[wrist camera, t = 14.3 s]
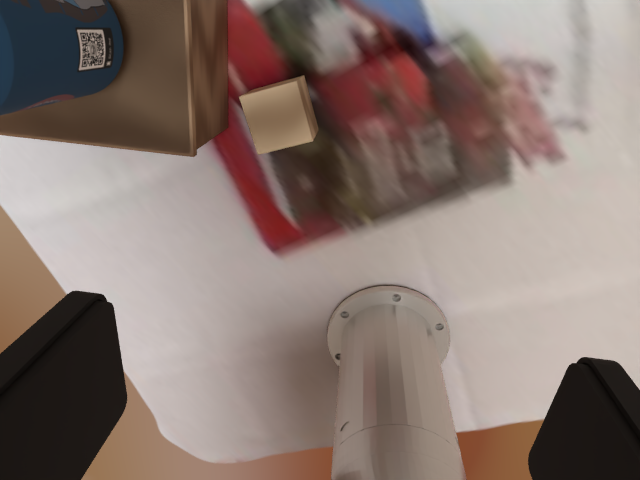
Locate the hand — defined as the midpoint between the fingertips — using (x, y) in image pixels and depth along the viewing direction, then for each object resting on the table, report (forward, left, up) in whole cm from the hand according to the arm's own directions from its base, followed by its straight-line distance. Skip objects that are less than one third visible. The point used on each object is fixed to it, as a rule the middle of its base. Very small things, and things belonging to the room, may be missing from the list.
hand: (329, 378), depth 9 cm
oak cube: (0, +6, -30) cm, 31 cm away
